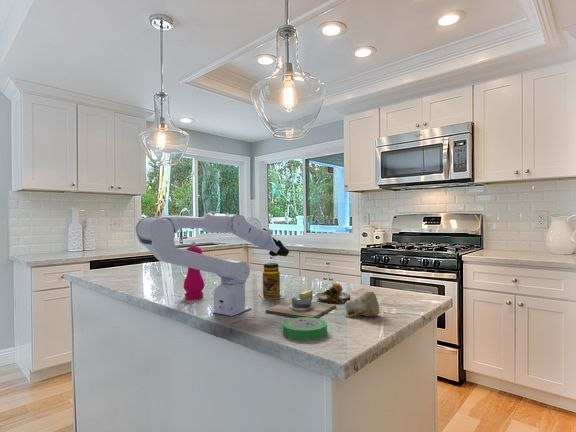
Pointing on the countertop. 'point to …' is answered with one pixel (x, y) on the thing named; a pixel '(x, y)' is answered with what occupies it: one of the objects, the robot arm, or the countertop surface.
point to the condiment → (271, 282)
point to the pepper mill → (194, 279)
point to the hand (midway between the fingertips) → (281, 248)
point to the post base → (301, 309)
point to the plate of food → (334, 294)
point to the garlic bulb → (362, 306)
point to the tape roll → (305, 328)
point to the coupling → (303, 299)
